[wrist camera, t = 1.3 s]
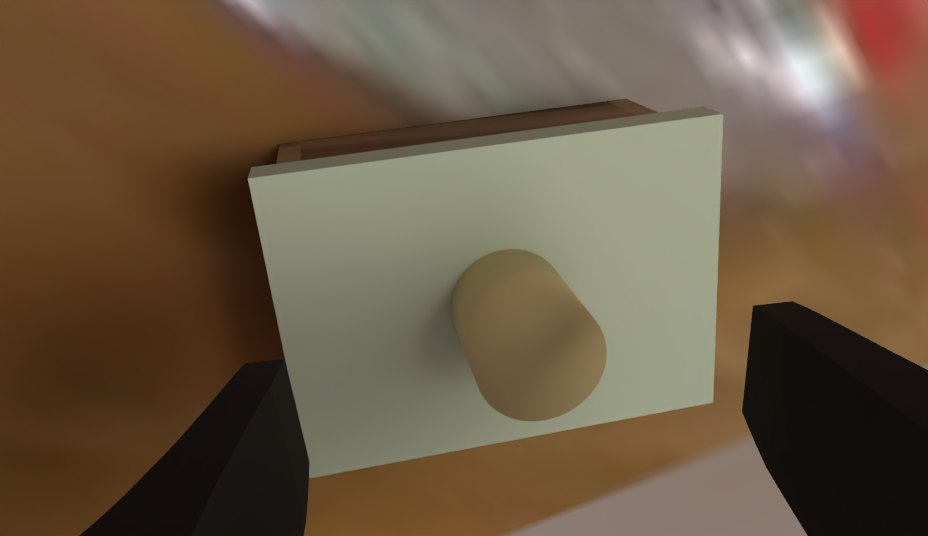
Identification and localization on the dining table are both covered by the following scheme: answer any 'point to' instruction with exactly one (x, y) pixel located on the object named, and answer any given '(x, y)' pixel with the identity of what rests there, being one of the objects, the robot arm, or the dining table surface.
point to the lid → (494, 284)
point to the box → (458, 130)
